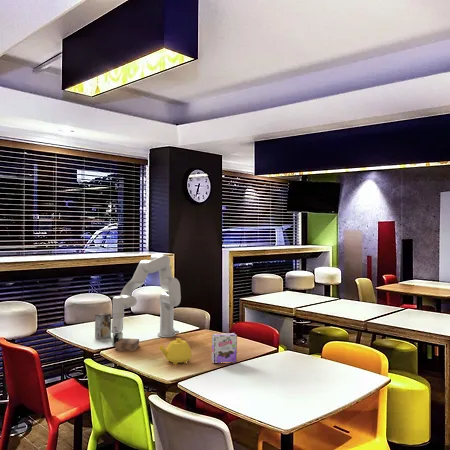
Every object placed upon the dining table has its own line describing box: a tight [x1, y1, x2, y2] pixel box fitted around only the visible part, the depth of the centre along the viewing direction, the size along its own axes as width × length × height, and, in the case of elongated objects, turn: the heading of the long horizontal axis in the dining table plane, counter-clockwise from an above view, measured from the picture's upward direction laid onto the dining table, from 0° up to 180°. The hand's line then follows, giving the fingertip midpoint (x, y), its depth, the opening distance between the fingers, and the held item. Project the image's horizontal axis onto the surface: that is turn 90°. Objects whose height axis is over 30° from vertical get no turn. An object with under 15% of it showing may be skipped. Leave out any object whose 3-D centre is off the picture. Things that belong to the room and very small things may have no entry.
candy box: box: [210, 332, 238, 363], centre depth 266 cm, size 14×6×16 cm, turn 105°
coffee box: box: [94, 312, 112, 340], centre depth 318 cm, size 9×6×16 cm
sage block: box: [112, 332, 124, 346], centre depth 301 cm, size 5×5×7 cm
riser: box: [114, 337, 140, 352], centre depth 291 cm, size 12×12×5 cm
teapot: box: [158, 337, 193, 365], centre depth 263 cm, size 20×16×14 cm
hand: (117, 342), depth 301 cm, fingers closed on sage block, 5 cm apart
